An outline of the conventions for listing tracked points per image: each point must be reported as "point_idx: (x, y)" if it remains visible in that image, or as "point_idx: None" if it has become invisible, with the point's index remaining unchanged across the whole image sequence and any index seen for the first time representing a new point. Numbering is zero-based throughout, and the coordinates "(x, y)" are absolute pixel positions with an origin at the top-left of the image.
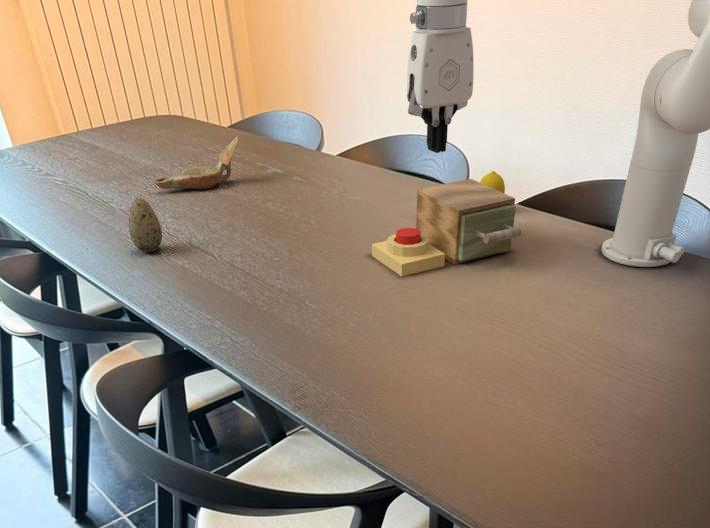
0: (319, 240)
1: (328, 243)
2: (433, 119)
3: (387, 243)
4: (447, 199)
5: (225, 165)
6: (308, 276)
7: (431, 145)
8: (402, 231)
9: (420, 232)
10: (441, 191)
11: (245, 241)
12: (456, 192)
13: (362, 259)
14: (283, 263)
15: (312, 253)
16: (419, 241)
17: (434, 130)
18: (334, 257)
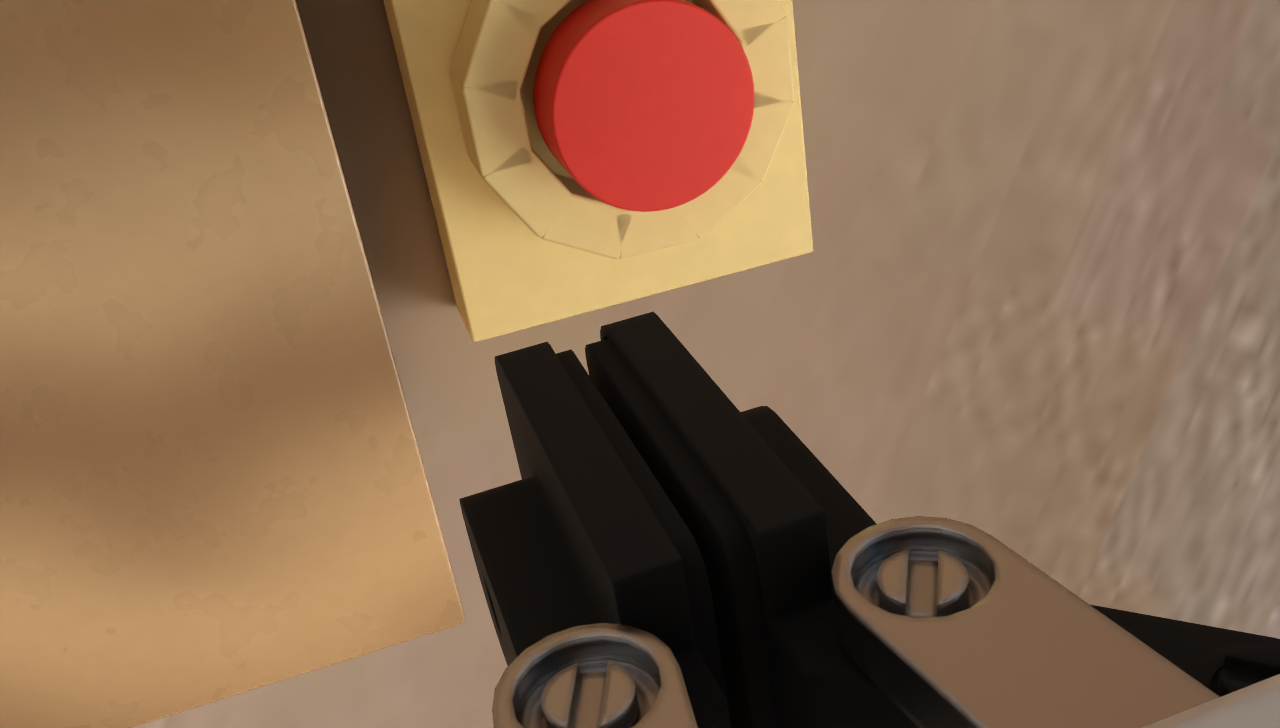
0: None
1: (928, 483)
2: (1046, 589)
3: (714, 226)
4: (270, 279)
5: None
6: (1222, 32)
7: (765, 412)
8: (695, 135)
9: (564, 62)
10: (253, 526)
11: (1261, 590)
12: (95, 469)
13: (850, 189)
14: (1245, 264)
15: (1062, 361)
16: (562, 25)
17: (831, 542)
18: (983, 270)
